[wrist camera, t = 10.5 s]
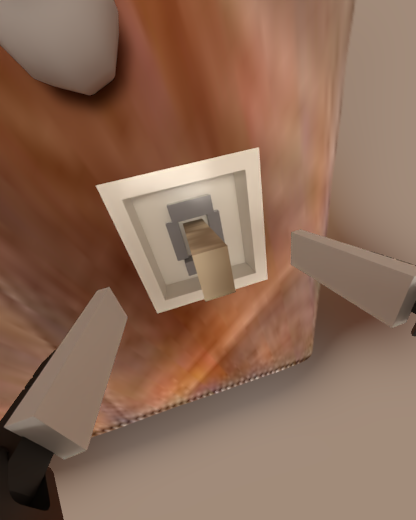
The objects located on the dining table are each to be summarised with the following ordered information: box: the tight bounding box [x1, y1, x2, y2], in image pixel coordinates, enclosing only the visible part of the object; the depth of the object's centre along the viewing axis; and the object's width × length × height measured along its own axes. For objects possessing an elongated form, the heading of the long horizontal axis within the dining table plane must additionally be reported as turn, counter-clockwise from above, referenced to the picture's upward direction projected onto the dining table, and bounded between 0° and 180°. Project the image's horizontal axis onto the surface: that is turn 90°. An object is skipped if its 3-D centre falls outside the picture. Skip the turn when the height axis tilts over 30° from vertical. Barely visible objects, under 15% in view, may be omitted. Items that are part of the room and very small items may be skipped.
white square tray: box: [96, 147, 268, 314], centre depth 20 cm, size 16×16×4 cm
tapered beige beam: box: [183, 218, 236, 302], centre depth 17 cm, size 2×4×11 cm, turn 13°
